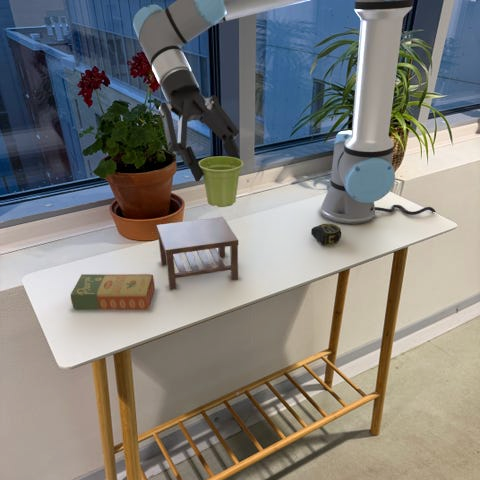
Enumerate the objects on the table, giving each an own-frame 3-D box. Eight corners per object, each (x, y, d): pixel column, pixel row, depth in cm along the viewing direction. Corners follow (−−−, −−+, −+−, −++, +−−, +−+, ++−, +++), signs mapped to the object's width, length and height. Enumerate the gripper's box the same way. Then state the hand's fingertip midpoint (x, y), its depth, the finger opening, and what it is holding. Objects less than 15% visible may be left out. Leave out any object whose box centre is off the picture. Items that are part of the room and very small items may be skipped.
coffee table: (224, 253, 122) (223, 216, 116) (238, 279, 112) (238, 240, 106) (160, 262, 118) (156, 224, 112) (169, 290, 108) (165, 250, 102)
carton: (149, 311, 101) (146, 294, 99) (72, 310, 102) (68, 293, 99) (155, 289, 108) (153, 273, 106) (84, 289, 109) (80, 272, 106)
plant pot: (194, 197, 108) (192, 158, 103) (233, 191, 111) (233, 153, 106) (208, 213, 101) (207, 172, 96) (249, 206, 104) (250, 166, 99)
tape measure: (309, 237, 129) (310, 224, 127) (332, 234, 131) (334, 221, 129) (320, 249, 124) (322, 235, 122) (344, 245, 126) (346, 231, 123)
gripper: (212, 85, 112) (253, 171, 111) (125, 97, 102) (169, 193, 101) (225, 62, 106) (268, 154, 105) (133, 72, 95) (180, 174, 94)
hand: (219, 173), depth 103 cm, fingers closed on plant pot, 9 cm apart
